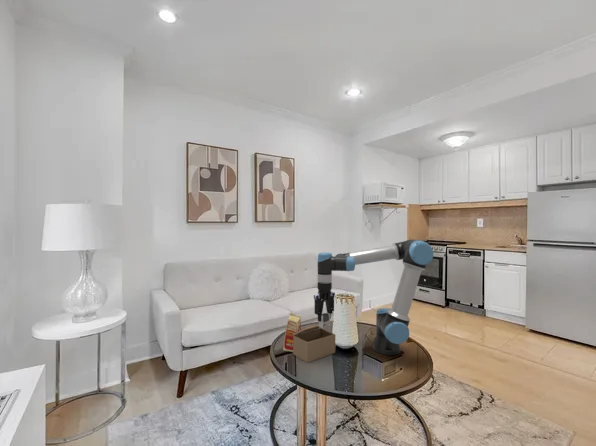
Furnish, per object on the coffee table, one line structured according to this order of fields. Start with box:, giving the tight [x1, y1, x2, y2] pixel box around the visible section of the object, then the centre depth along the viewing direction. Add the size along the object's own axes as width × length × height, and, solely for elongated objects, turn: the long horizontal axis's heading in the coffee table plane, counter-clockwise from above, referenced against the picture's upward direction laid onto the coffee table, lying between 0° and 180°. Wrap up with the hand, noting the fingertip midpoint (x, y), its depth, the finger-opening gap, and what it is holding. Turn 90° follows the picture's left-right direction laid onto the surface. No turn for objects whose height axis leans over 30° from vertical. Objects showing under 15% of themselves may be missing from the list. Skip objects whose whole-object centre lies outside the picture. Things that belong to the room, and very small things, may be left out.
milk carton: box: [282, 312, 303, 353], centre depth 166 cm, size 9×9×20 cm
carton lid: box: [293, 312, 334, 335], centre depth 158 cm, size 20×20×5 cm
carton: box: [292, 328, 336, 363], centre depth 159 cm, size 12×20×10 cm, turn 127°
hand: (324, 326), depth 153 cm, fingers open, 4 cm apart
